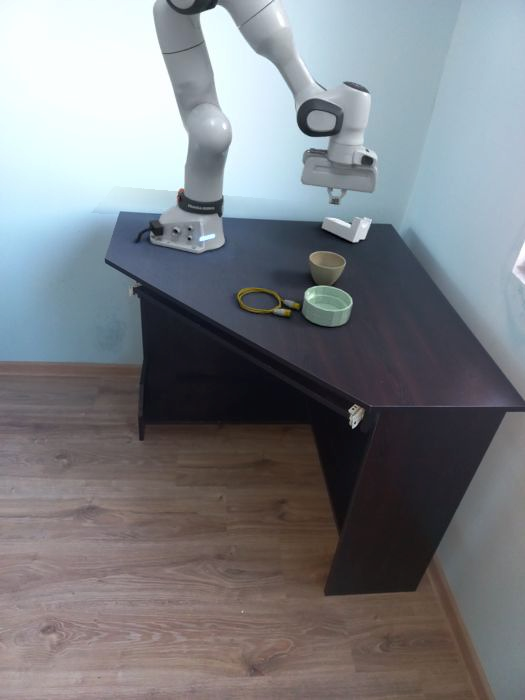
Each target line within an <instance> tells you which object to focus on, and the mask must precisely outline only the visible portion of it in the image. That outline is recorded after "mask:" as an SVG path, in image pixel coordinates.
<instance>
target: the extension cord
mask: <svg viewBox="0 0 525 700" xmlns="http://www.w3.org/2000/svg"><path fill="white" fill-rule="evenodd" d="M258 292H259V293H267V294H271V295H273V296H274V297H275V298H276V299H277V301H278V303H279V304H278V305H277V306H275V307H274V308H271V309H259V308H252V307H249V306H247V305H245V303H243V301H242V300H241V298H242V297H243V296H244V295H246V294H249V293H258ZM237 302H238V303H239V305H240V306H239V307H241V308H242V309H243V310H244V311H245V310H246V311H248V312H251V313H255V314H268V313H272V314H273V315H277V316H280V317H288V318H289V317H291V310H292V309H293V310H297V311H298V310H300V308H301V304H300V303H297V302H295V301H293V300H288V299H284V300H283V298H281V297H280V296H279V294H277V293H276V292H275V291H272V290H270V289H266V288H261V287H246V288H242V289H241V290H240V291H238V293H237ZM282 302H283V305H285V306H287V307H288V308H290V309H287V308H282Z"/></svg>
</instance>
